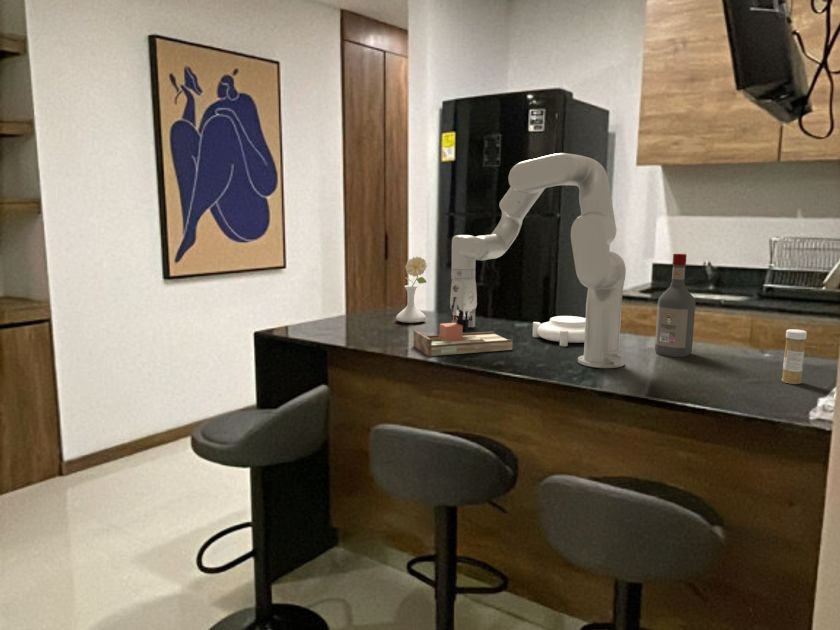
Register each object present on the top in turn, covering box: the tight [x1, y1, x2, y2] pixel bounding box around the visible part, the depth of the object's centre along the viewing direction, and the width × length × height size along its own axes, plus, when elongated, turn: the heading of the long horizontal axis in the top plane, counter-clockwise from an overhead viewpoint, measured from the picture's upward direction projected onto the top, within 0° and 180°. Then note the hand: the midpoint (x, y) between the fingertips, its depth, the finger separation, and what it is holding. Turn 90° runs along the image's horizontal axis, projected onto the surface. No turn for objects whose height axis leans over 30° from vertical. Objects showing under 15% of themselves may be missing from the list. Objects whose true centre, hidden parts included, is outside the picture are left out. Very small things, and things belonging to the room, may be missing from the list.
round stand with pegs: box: [532, 315, 585, 347], centre depth 220 cm, size 24×24×7 cm
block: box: [439, 322, 464, 341], centre depth 207 cm, size 6×6×4 cm
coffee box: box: [451, 307, 477, 328], centre depth 243 cm, size 9×6×16 cm
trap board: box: [413, 330, 513, 357], centre depth 206 cm, size 14×28×5 cm, turn 109°
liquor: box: [654, 253, 696, 358], centre depth 197 cm, size 9×9×30 cm
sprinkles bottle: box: [781, 328, 808, 385], centre depth 167 cm, size 5×5×13 cm
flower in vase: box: [395, 256, 428, 324], centre depth 247 cm, size 13×11×25 cm
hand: (462, 331), depth 211 cm, fingers closed
